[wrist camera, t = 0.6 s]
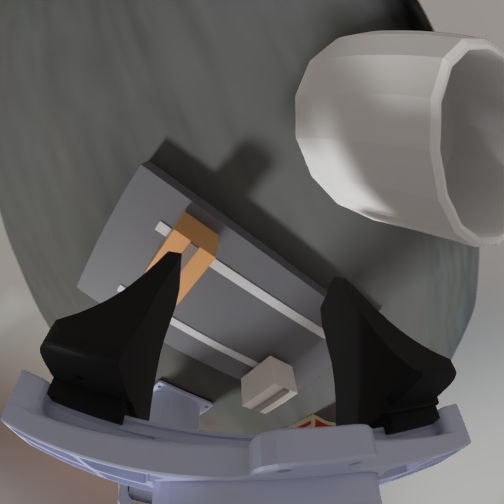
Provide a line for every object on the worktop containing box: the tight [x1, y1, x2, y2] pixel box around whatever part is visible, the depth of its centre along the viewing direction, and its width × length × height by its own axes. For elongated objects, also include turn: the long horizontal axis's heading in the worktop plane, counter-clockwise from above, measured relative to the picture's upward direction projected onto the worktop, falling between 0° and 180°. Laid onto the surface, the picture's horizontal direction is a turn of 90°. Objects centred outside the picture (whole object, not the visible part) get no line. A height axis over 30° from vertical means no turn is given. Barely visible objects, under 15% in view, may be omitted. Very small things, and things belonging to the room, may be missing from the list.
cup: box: [295, 30, 504, 247], centre depth 13 cm, size 13×13×14 cm
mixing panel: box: [77, 161, 332, 392], centre depth 25 cm, size 13×26×2 cm, turn 51°
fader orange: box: [143, 211, 219, 305], centre depth 18 cm, size 4×3×4 cm, turn 141°
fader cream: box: [241, 356, 298, 414], centre depth 25 cm, size 4×3×4 cm, turn 141°
